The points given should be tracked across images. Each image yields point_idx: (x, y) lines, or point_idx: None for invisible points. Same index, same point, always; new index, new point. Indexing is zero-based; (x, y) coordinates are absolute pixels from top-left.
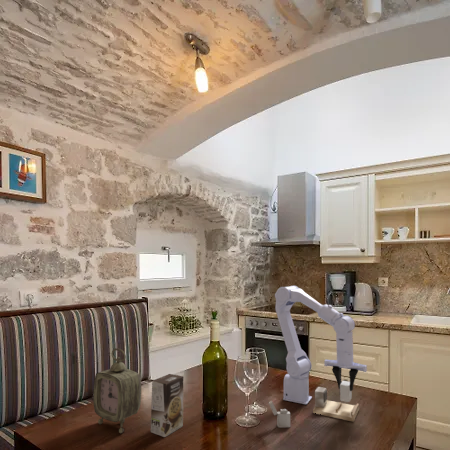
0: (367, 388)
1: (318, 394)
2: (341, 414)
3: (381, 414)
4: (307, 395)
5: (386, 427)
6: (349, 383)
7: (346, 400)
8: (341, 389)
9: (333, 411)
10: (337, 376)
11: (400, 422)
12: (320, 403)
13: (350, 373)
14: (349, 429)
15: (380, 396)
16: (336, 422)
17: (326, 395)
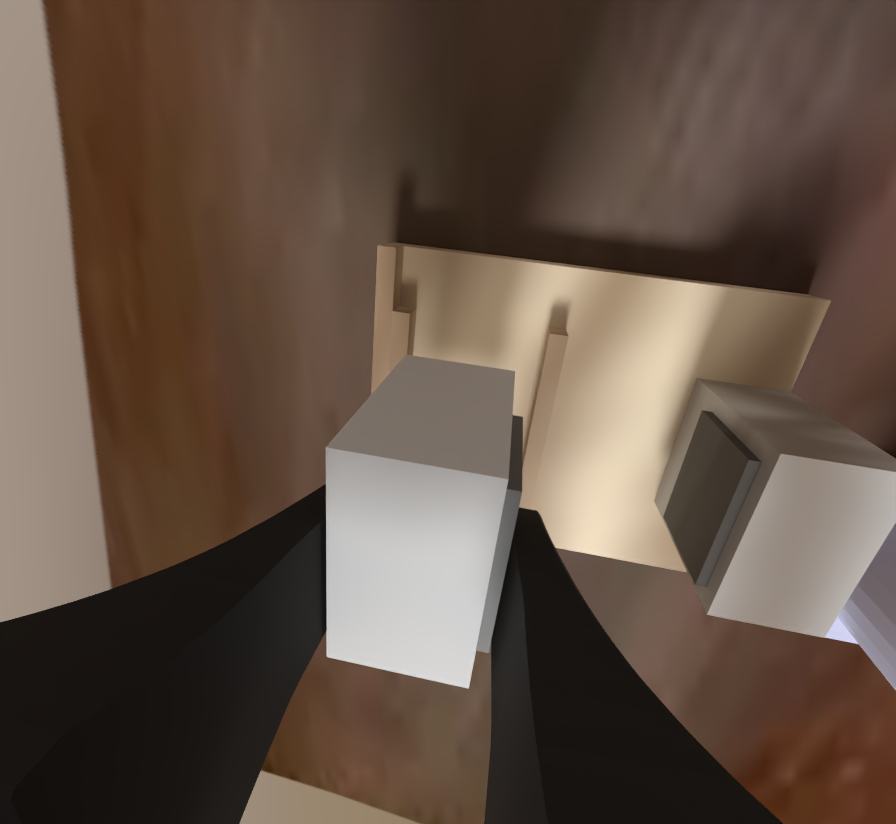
0: (368, 801)
1: (833, 446)
2: (507, 284)
3: (225, 466)
4: (880, 576)
5: (143, 239)
6: (340, 584)
7: (434, 363)
8: (486, 429)
9: (590, 329)
10: (577, 674)
11: (89, 375)
12: (748, 396)
13: (31, 707)
14: (417, 21)
15: (283, 717)
16: (555, 150)
17: (685, 523)
